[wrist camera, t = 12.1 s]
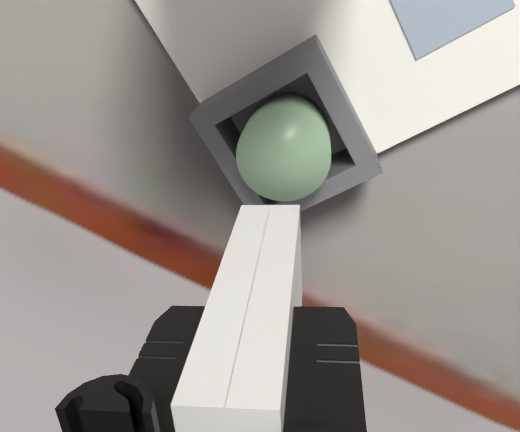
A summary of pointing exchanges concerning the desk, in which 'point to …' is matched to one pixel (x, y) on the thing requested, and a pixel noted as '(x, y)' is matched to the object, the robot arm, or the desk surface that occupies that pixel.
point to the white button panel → (337, 70)
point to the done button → (285, 147)
